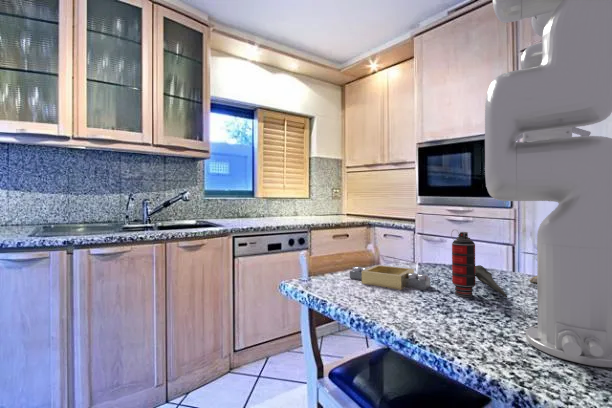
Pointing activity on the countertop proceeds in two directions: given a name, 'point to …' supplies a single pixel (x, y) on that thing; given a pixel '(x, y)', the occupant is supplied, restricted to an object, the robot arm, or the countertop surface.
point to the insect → (533, 280)
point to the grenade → (463, 265)
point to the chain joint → (391, 277)
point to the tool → (487, 279)
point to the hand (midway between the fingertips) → (546, 168)
